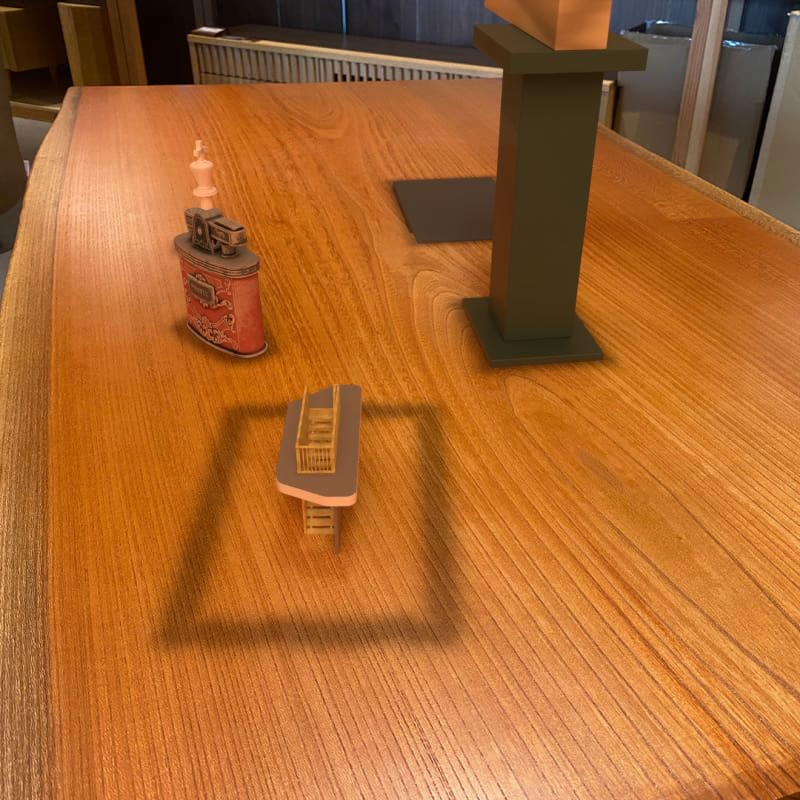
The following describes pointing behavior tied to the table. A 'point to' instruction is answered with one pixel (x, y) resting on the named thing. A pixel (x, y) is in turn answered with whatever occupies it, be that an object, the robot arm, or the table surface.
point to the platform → (322, 455)
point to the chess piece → (203, 176)
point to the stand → (542, 195)
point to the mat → (448, 208)
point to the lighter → (221, 284)
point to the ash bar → (559, 21)
